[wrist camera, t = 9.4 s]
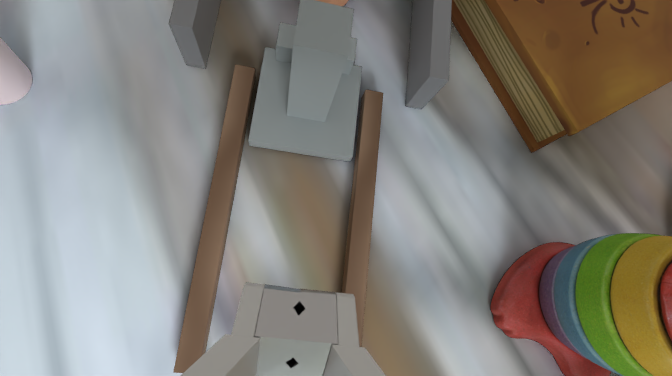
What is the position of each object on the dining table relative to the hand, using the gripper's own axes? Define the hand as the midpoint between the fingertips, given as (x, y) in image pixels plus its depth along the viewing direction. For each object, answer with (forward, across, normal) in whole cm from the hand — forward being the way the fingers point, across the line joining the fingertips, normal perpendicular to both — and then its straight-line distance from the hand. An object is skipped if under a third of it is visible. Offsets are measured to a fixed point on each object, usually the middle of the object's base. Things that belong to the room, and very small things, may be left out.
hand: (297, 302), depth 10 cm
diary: (+32, -24, -7) cm, 41 cm away
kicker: (+22, 0, +2) cm, 22 cm away
